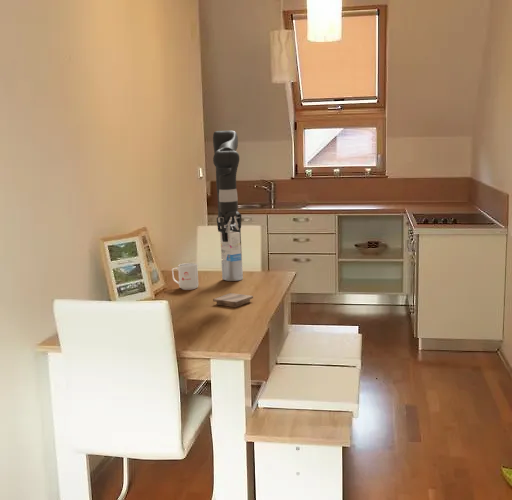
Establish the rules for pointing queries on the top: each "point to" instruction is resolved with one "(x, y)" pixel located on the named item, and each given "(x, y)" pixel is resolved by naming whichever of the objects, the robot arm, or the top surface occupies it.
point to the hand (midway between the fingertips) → (230, 240)
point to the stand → (233, 300)
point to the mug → (187, 276)
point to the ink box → (231, 246)
